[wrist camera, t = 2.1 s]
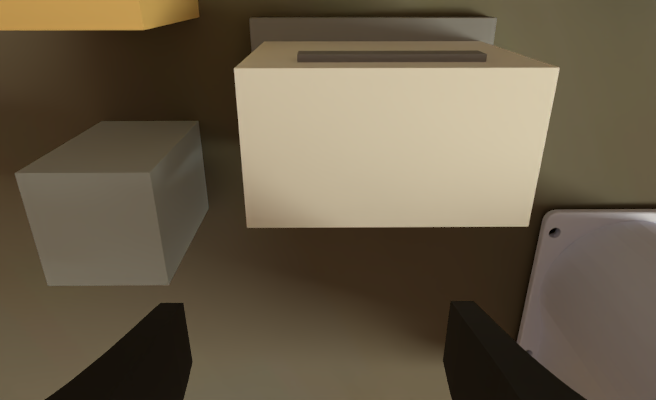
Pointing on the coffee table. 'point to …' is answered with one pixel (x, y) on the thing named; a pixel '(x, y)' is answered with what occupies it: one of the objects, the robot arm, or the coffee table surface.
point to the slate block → (117, 203)
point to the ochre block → (94, 14)
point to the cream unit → (389, 123)
